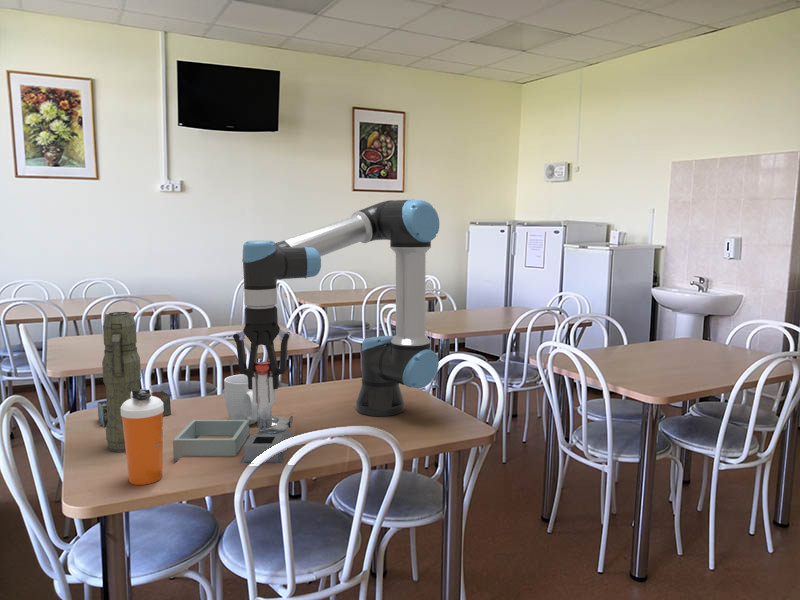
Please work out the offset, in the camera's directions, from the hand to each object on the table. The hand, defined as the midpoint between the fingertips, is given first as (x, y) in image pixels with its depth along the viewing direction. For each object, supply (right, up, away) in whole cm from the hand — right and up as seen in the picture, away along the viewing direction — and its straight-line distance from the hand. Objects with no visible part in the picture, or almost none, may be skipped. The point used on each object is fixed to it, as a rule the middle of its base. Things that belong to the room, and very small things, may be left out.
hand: (264, 401), depth 144 cm
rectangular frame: (-15, -14, +9) cm, 22 cm away
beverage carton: (-46, -11, +34) cm, 58 cm away
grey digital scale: (-1, -14, +8) cm, 16 cm away
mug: (-12, -11, +30) cm, 34 cm away
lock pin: (0, -6, +1) cm, 6 cm away
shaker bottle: (-25, -16, -8) cm, 31 cm away
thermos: (-39, -14, +11) cm, 42 cm away
